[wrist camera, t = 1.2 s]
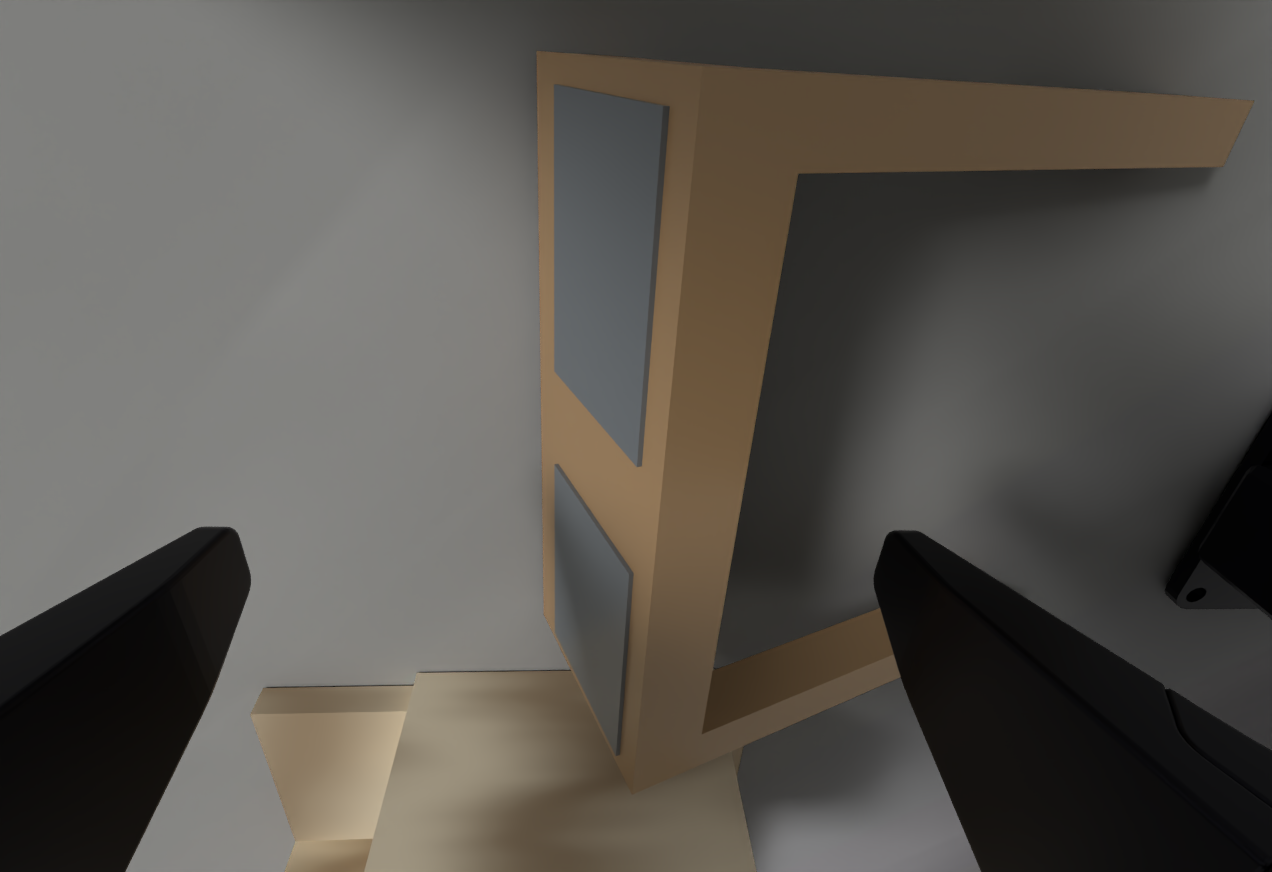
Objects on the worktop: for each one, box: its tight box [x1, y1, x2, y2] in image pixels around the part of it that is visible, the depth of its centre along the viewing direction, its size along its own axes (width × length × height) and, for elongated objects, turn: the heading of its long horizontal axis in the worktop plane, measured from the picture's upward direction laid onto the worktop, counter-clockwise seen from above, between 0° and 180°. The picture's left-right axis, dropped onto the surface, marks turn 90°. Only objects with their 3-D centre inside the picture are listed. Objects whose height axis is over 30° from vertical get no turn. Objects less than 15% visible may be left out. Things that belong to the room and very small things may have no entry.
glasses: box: [537, 51, 1254, 795], centre depth 13 cm, size 10×12×5 cm
